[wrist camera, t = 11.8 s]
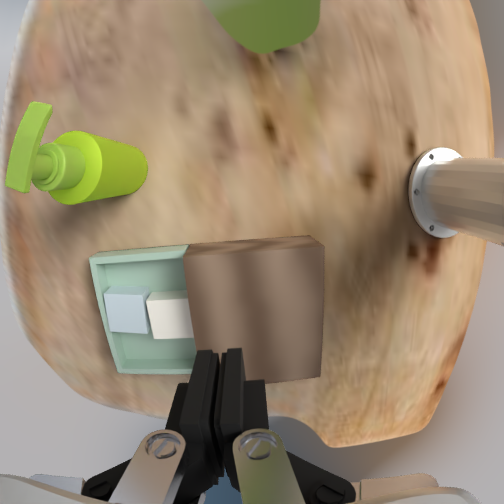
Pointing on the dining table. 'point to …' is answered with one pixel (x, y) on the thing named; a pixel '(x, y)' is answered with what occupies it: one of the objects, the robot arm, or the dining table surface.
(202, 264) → the brown wooden block
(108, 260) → the box
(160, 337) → the cream square block
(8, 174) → the soap dispenser
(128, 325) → the pale blue square block
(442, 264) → the dining table surface
